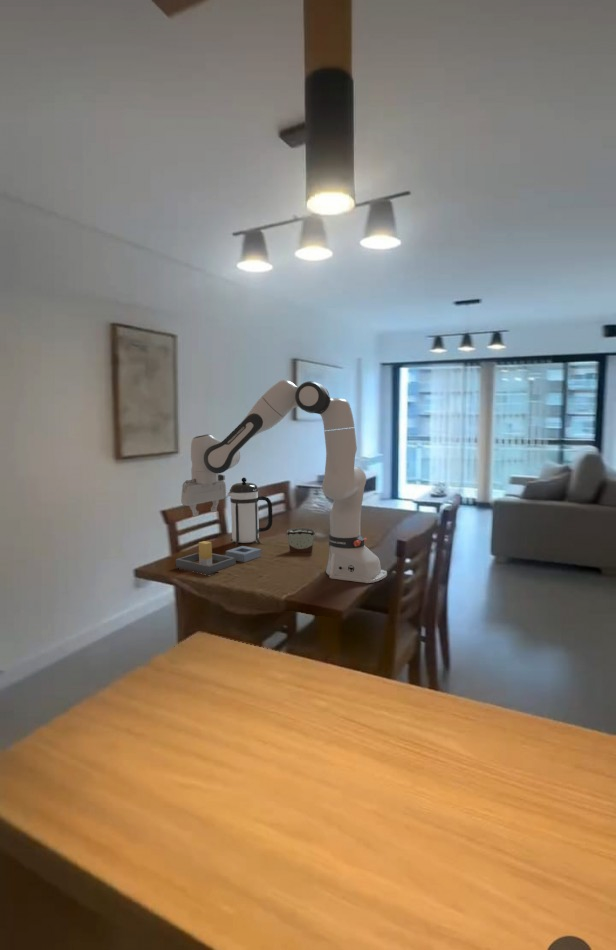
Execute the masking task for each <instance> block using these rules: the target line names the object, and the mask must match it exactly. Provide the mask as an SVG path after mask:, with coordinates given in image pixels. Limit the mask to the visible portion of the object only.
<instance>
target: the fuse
mask: <svg viewBox="0 0 616 950" xmlns="http://www.w3.org/2000/svg"><path fill="white" fill-rule="evenodd" d="M212 544H213V543H212V541H205V540H203V541H199V542H198V552H199V560H198V563H201V564H205V565H212V564H213V561H212V553H213V545H212Z"/></svg>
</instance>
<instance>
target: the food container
mask: <svg viewBox="0 0 616 950" xmlns="http://www.w3.org/2000/svg"><path fill="white" fill-rule="evenodd" d="M285 536H287V543H288V550H289V552H290V553H308V554H313V552H314V551H313V549H314V540H315V537H316V532H315V530H314V529H313V528H309V527H308V528H307V527H294V528H290V529H288V530H286V534H285Z"/></svg>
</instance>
